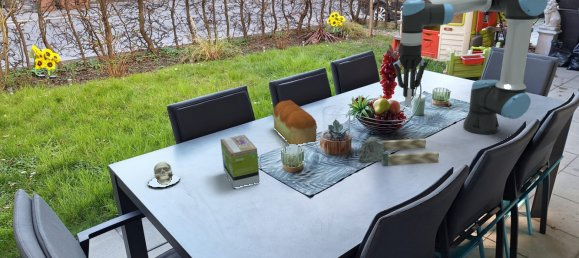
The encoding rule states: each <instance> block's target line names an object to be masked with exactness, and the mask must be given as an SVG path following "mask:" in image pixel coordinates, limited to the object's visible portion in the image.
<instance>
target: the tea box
mask: <svg viewBox="0 0 579 258" xmlns="http://www.w3.org/2000/svg"><path fill="white" fill-rule="evenodd" d="M220 147H221V155H222V164H223V172H224V171H225V173H226V175H227V176H226V175H225V176H226V178H227V177H228V178H229V179H228V178H227V179H228V181H229V180H230V181H229V182H231V183H232V184H231V183H230V184H231V186H232V185H233V186H234V187H240V186H244V185H249V184H254V183H259V182H260V181H261V180H260V171H259V170H260V169H259V157H258V154H259V153H258V148H257V147H256V145H255V144H254V143H253V142H252V140H250V139H249V138H248V137H247V136H246V135H245V134H240V135H237V136H231V137H226V138H221V139H220ZM225 173H224V174H225ZM259 184H260V183H259ZM233 186H232V187H233ZM234 187H233V188H234Z"/></svg>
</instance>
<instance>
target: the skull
mask: <svg viewBox="0 0 579 258" xmlns="http://www.w3.org/2000/svg"><path fill="white" fill-rule="evenodd" d="M153 173H154V174H153V175H154V178H156V179H157V182H158V183H159V184H161V185H168V184H169V183H170V182H171V180H172V176H173V171H172V167H171V164H169V163H167V161H160V162H158V163H157V164H156V165H154V168H153Z"/></svg>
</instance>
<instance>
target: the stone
mask: <svg viewBox="0 0 579 258" xmlns="http://www.w3.org/2000/svg"><path fill="white" fill-rule="evenodd" d="M378 139H379V138H376V137H375V136H370V137H369V138H367V139H366V140H365V141H364V142H363V143H362V144H361V145H360V146H361V147H360V149H359V155H358V158H359V160H360V161H362V162H363V163H368V162H369V161H370V163H372V162H371V161H373V162H379V161H382V152H386V151H385V147H384V145H383V143H382V142H381V141H382V140H380V139H379V140H378Z"/></svg>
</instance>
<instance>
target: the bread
mask: <svg viewBox="0 0 579 258" xmlns="http://www.w3.org/2000/svg"><path fill="white" fill-rule="evenodd" d="M272 117H273V128H275V129H276V130H277V131H278V132H279V133H280V134H281V135H282V136H283V137H284V138H285V140H287V142H288V143H289V144H296V145H298V144H303V143H308V142H315V141H317V129H318V126H317V121H316V119H315V118H314V117H313V116H312V115H311V114H310V113H309V112H307V111H306V110H305V109H303V108H302V107H301V106H299V105H298V104H296V103H295V102H294V101H292V100H291V99H289V100H282V101H279V102H278V103H277V104H276V105H275V106H274V108H273V111H272ZM285 140H284V141H285ZM287 142H286V143H287ZM317 142H318V141H317ZM288 143H287V144H288ZM289 144H288V145H289Z"/></svg>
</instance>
